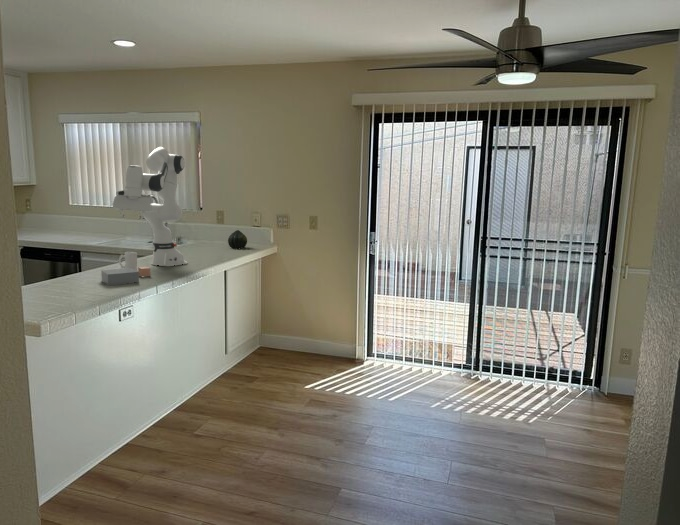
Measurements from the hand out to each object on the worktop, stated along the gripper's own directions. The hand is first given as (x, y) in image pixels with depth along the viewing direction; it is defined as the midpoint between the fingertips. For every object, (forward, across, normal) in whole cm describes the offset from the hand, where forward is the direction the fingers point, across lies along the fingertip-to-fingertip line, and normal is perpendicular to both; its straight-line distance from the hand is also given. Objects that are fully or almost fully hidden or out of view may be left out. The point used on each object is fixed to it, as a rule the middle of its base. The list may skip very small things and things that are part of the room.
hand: (131, 218), depth 290 cm
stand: (+35, +3, +6) cm, 36 cm away
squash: (+12, -69, -109) cm, 129 cm away
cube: (+32, -8, -8) cm, 34 cm away
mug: (+32, +2, -18) cm, 36 cm away
